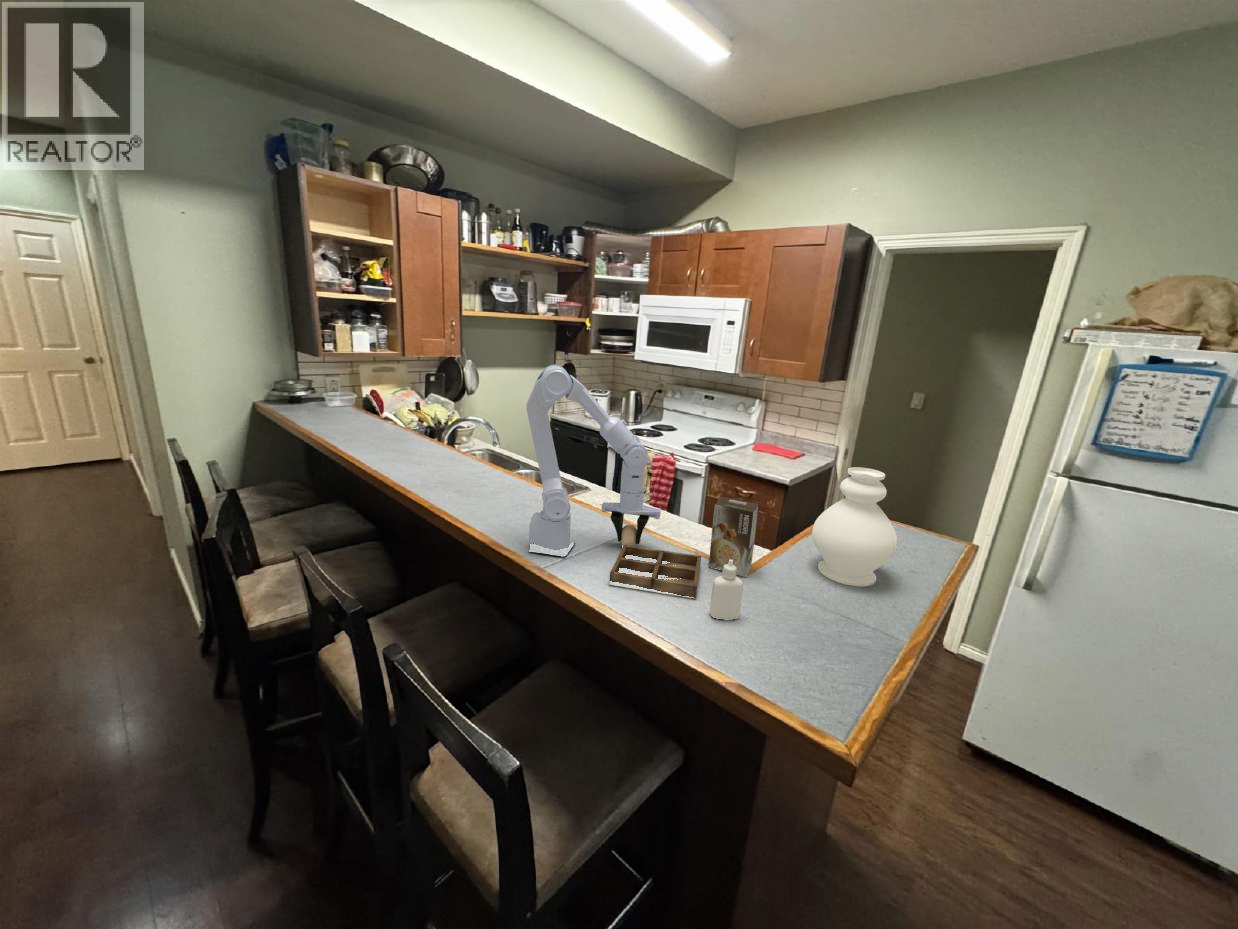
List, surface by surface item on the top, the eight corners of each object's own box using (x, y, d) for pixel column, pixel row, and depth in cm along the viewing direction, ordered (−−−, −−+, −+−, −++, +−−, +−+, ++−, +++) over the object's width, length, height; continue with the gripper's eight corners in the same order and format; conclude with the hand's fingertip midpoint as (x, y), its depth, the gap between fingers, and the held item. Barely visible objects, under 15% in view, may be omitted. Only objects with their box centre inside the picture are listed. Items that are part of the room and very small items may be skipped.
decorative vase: (857, 600, 103) (880, 489, 96) (790, 564, 118) (806, 465, 111) (904, 582, 112) (929, 478, 105) (837, 550, 127) (854, 458, 120)
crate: (609, 585, 104) (609, 572, 103) (623, 556, 117) (624, 544, 117) (695, 599, 100) (697, 586, 99) (700, 567, 114) (701, 555, 113)
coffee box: (752, 567, 115) (761, 503, 111) (745, 578, 110) (754, 512, 106) (714, 557, 119) (722, 495, 115) (706, 567, 114) (713, 503, 110)
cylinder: (619, 549, 121) (620, 527, 119) (622, 542, 125) (623, 521, 123) (634, 551, 120) (636, 529, 119) (637, 545, 124) (639, 523, 122)
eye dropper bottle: (712, 606, 98) (719, 552, 95) (740, 614, 96) (748, 559, 93) (706, 617, 94) (713, 561, 91) (735, 626, 92) (743, 568, 89)
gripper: (663, 488, 121) (659, 538, 124) (607, 481, 123) (605, 531, 127) (659, 497, 114) (655, 550, 118) (600, 490, 117) (598, 542, 121)
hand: (629, 541), depth 122 cm, fingers closed on cylinder, 4 cm apart
